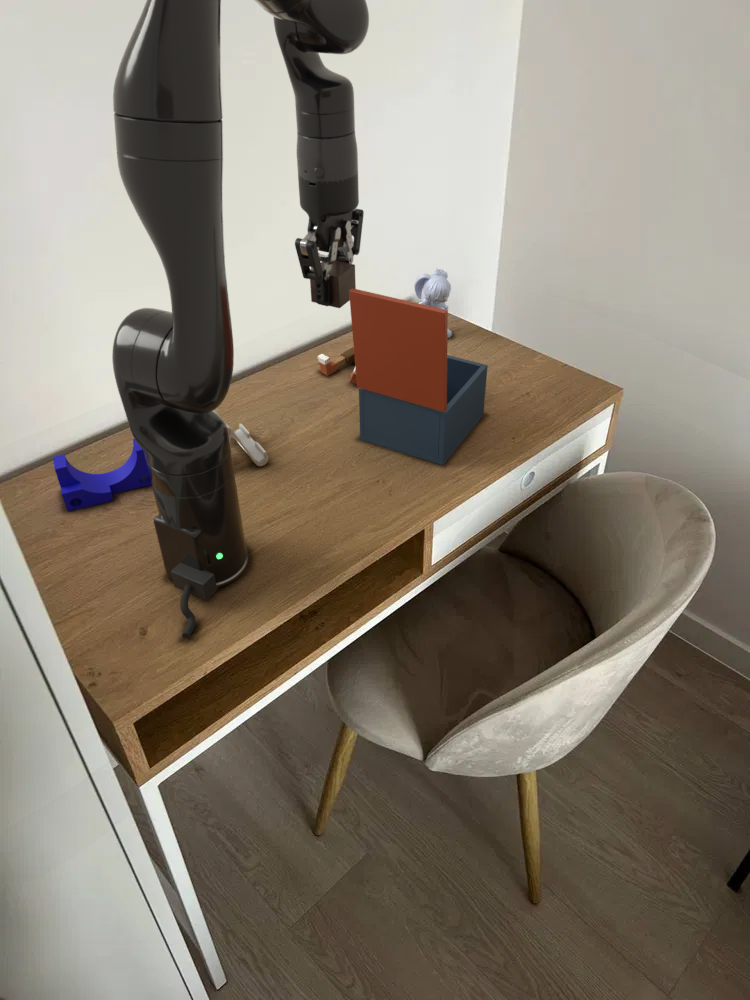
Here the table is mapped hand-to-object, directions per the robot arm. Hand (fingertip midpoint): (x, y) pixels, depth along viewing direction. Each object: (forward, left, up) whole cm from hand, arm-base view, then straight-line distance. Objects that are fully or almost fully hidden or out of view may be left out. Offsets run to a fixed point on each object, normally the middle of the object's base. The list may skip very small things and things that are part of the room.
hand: (333, 296), depth 112 cm
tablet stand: (-16, +9, -21) cm, 27 cm away
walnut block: (0, 0, 0) cm, 0 cm away
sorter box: (+4, -12, -20) cm, 24 cm away
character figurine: (+18, +5, -21) cm, 28 cm away
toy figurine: (+31, -1, -21) cm, 37 cm away
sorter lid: (-3, -12, -3) cm, 13 cm away
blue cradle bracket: (-30, +19, -21) cm, 41 cm away
